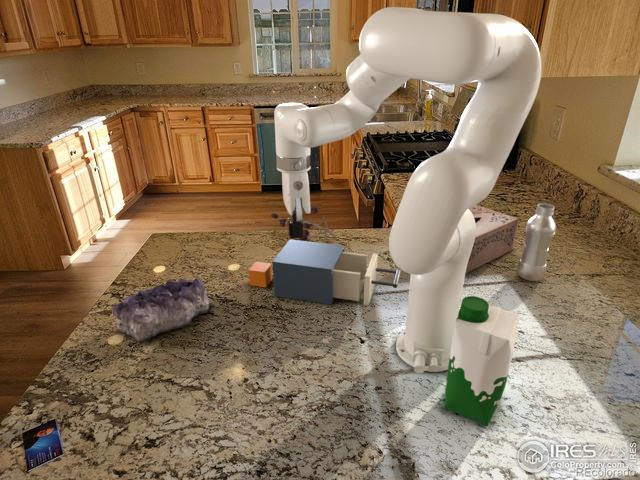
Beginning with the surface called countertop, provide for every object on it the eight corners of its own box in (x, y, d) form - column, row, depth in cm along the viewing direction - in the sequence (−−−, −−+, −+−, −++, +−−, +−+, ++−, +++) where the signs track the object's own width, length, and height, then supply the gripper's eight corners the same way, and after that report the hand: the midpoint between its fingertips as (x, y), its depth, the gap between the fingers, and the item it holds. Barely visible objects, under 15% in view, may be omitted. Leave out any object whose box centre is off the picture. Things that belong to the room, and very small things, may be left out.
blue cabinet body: (343, 278, 112) (344, 245, 107) (331, 304, 101) (332, 269, 96) (291, 271, 115) (290, 239, 111) (274, 295, 104) (272, 261, 100)
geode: (196, 293, 106) (194, 259, 101) (218, 319, 99) (218, 284, 94) (110, 323, 94) (103, 286, 89) (128, 355, 86) (122, 317, 81)
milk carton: (452, 378, 79) (467, 286, 70) (503, 397, 74) (526, 301, 66) (437, 410, 72) (451, 312, 63) (492, 433, 68) (516, 332, 59)
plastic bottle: (546, 285, 107) (565, 212, 99) (518, 283, 109) (534, 210, 100) (540, 272, 113) (557, 202, 104) (513, 270, 114) (528, 200, 106)
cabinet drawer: (400, 284, 107) (402, 256, 103) (395, 309, 97) (397, 280, 94) (325, 274, 112) (325, 247, 108) (313, 297, 102) (312, 269, 99)
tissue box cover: (457, 277, 111) (462, 243, 107) (415, 257, 122) (418, 225, 117) (511, 249, 125) (518, 218, 121) (470, 233, 136) (474, 204, 131)
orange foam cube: (266, 287, 108) (264, 272, 106) (249, 285, 109) (248, 269, 107) (272, 278, 112) (271, 263, 110) (256, 276, 113) (255, 261, 111)
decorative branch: (267, 202, 144) (339, 202, 126) (281, 219, 150) (352, 221, 132) (251, 228, 139) (325, 232, 121) (266, 244, 145) (338, 251, 127)
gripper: (317, 170, 88) (318, 248, 96) (303, 152, 101) (304, 223, 109) (282, 173, 87) (285, 252, 95) (272, 154, 100) (276, 226, 108)
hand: (295, 236), depth 102 cm, fingers closed
